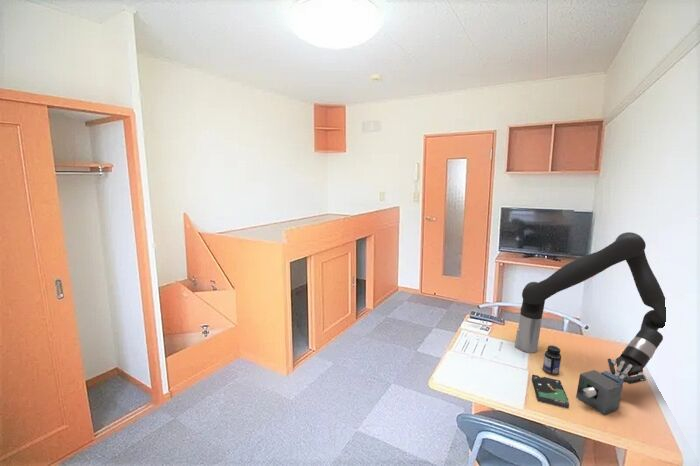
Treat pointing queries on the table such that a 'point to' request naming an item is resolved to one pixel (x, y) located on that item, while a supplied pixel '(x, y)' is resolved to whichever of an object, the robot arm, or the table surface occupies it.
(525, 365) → the table surface
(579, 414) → the table surface
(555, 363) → the pill bottle
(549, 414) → the table surface
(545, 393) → the disk drive
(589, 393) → the silver metal piece
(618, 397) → the bearing block
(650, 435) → the table surface
